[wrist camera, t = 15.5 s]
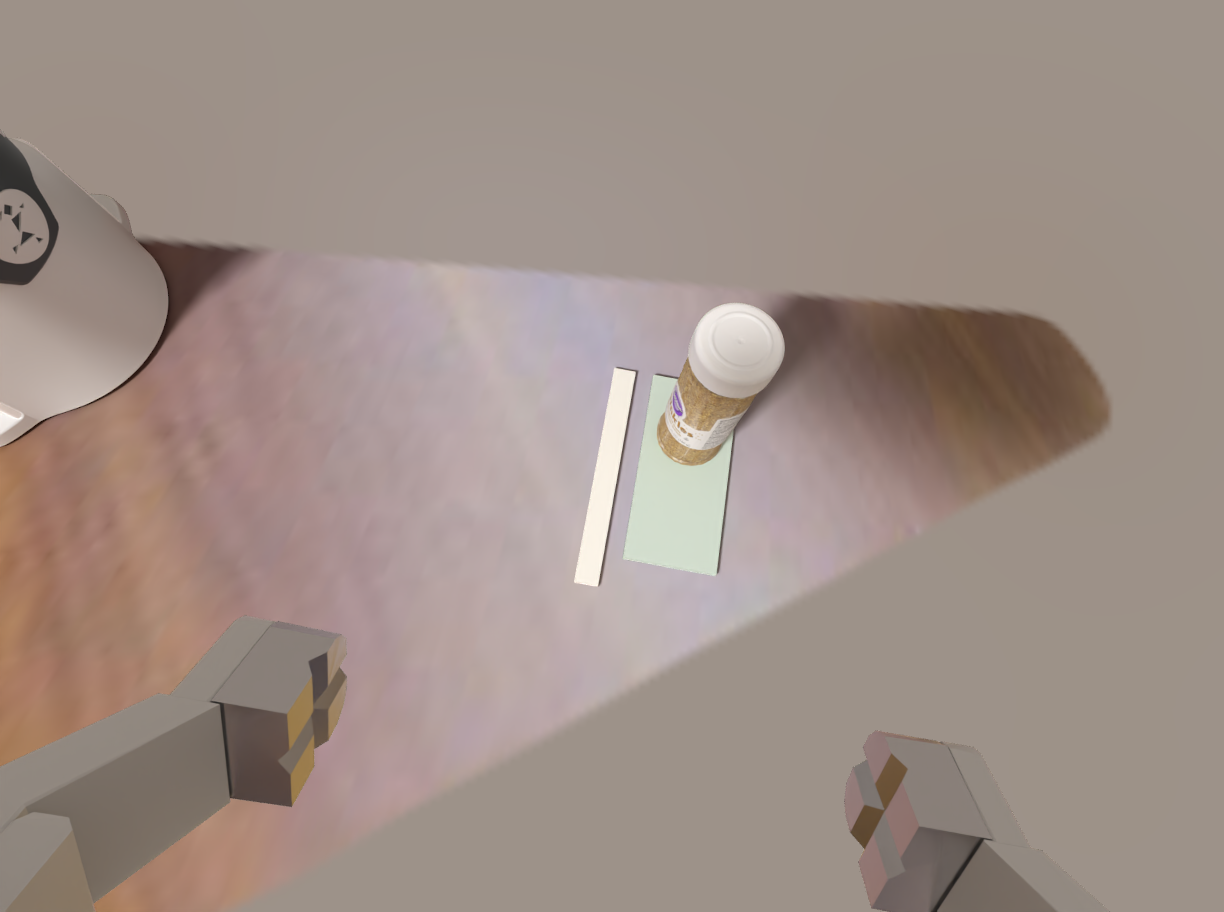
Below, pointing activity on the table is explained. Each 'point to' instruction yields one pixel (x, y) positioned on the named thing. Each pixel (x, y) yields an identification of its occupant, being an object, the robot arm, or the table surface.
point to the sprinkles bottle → (719, 380)
